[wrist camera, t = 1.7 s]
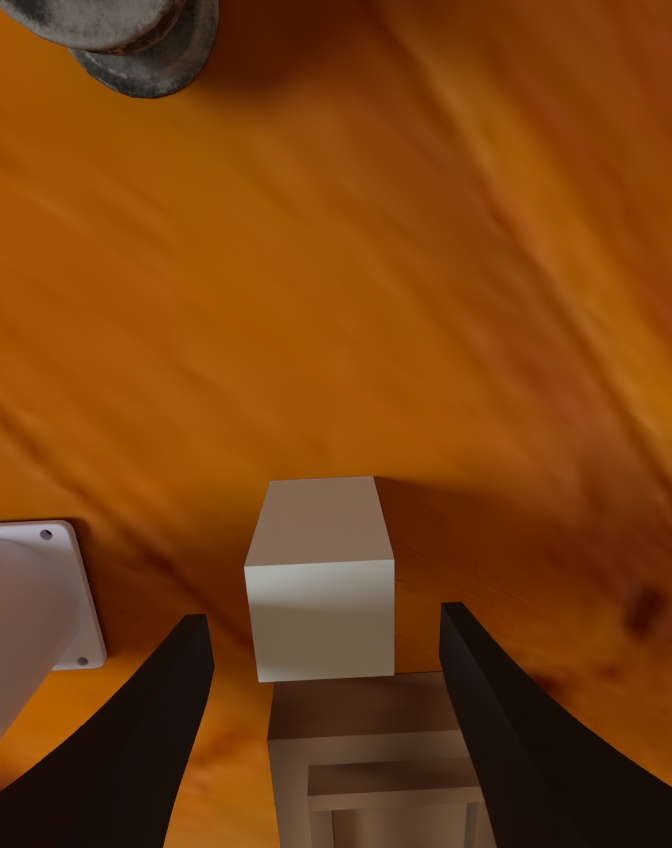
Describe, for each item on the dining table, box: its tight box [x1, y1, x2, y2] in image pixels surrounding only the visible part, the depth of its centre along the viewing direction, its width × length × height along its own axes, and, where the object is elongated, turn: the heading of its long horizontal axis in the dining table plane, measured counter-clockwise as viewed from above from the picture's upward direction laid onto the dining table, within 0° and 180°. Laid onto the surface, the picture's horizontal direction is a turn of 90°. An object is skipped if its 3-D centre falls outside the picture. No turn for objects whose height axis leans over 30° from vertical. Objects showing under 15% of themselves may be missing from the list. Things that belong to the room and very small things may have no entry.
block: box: [244, 476, 394, 682], centre depth 16 cm, size 4×4×6 cm
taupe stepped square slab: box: [267, 672, 497, 848], centre depth 21 cm, size 12×12×4 cm
